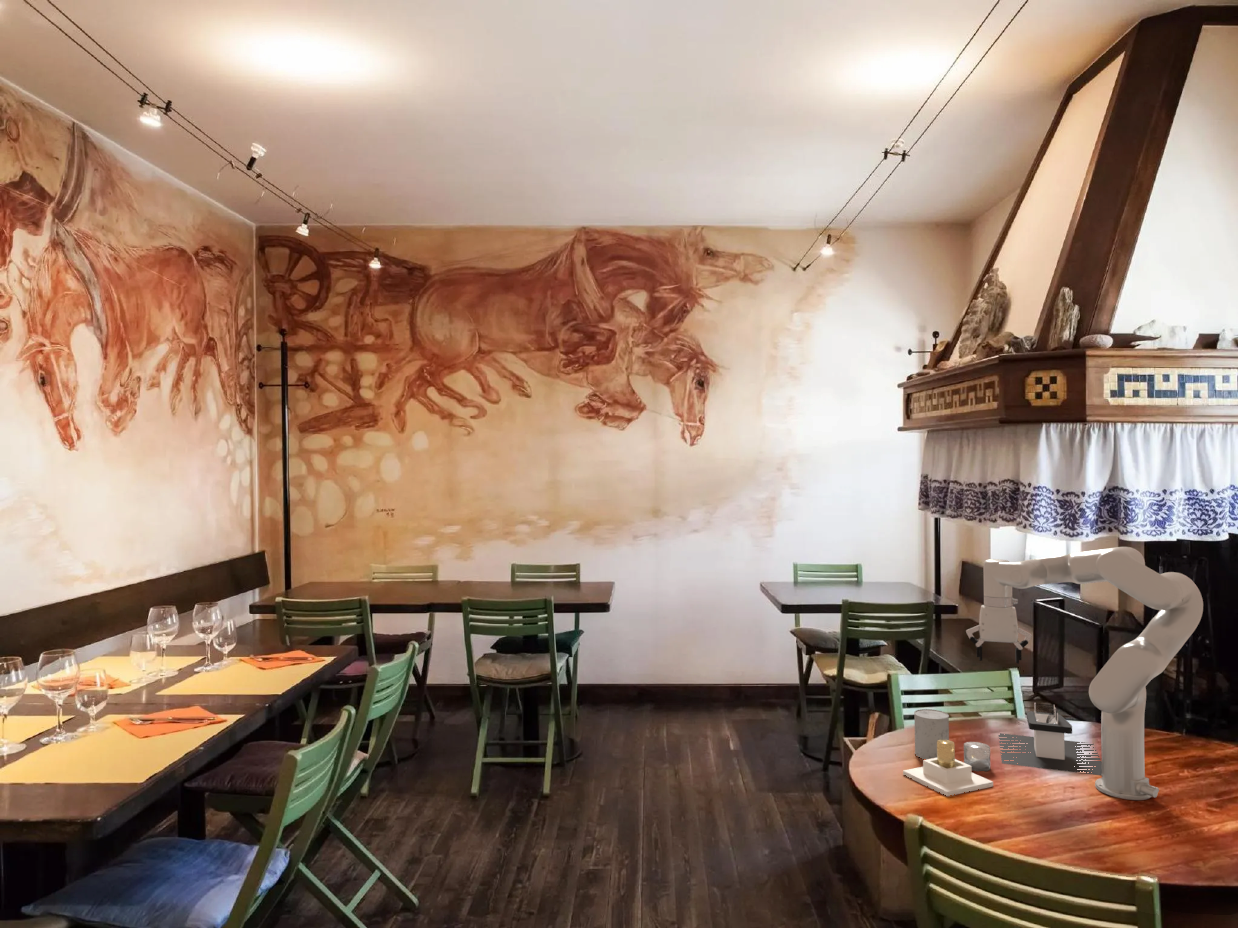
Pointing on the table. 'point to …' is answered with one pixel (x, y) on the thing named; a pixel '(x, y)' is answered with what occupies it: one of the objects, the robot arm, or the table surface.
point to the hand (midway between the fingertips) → (998, 661)
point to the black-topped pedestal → (1048, 745)
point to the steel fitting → (977, 756)
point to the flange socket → (948, 777)
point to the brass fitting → (946, 753)
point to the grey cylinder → (930, 731)
